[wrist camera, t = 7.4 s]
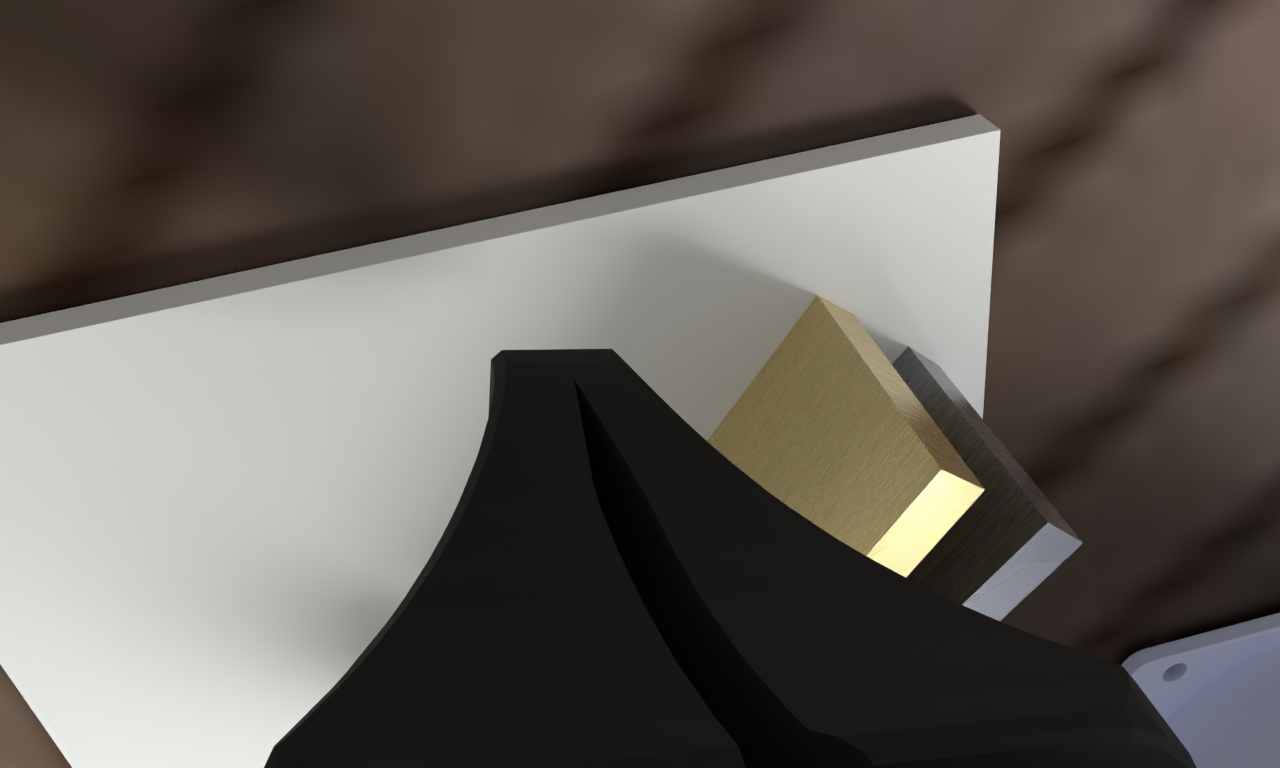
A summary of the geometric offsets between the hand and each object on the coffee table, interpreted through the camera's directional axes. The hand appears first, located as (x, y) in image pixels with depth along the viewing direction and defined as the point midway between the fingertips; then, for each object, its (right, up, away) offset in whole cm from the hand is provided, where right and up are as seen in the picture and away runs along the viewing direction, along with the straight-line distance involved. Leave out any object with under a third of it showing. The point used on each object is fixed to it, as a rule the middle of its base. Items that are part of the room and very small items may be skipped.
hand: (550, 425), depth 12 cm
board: (-1, -2, +5) cm, 6 cm away
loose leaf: (+2, -1, +4) cm, 5 cm away
